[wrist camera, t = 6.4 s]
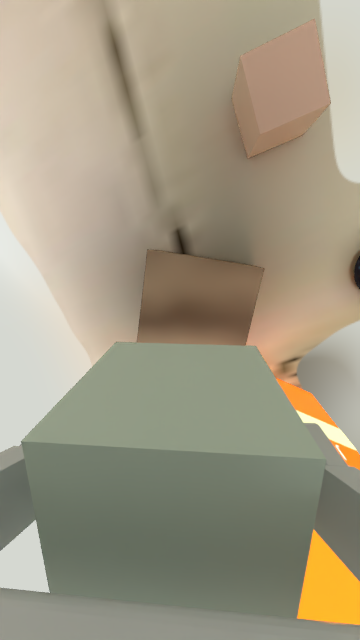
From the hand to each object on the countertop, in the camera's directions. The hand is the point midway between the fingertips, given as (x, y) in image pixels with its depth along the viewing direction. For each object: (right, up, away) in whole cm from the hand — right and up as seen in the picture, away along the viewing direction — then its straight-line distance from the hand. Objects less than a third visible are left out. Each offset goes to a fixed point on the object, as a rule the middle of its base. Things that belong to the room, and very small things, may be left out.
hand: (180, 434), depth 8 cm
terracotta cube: (+8, +22, +14) cm, 27 cm away
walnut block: (+2, +5, +19) cm, 20 cm away
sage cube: (0, 0, +2) cm, 2 cm away
